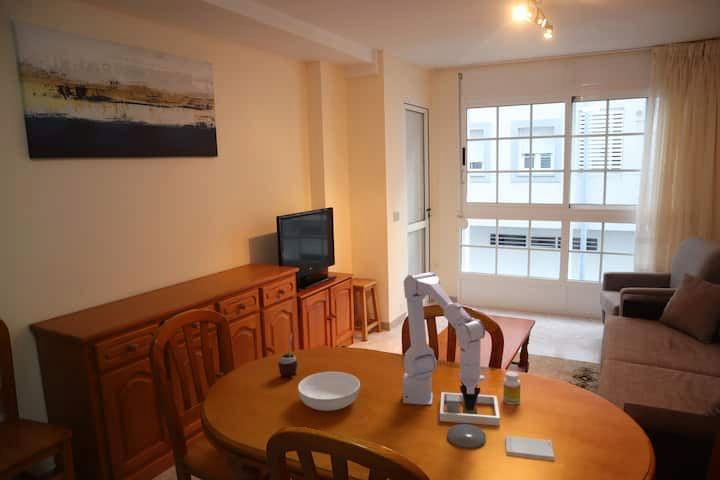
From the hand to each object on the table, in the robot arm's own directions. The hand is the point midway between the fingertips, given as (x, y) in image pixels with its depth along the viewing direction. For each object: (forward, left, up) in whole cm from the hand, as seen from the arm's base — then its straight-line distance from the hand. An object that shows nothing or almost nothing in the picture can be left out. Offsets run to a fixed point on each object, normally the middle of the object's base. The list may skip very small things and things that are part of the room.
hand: (469, 405), depth 144 cm
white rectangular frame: (0, +13, -9) cm, 16 cm away
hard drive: (+16, -5, -10) cm, 20 cm away
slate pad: (-1, -2, -9) cm, 9 cm away
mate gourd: (-67, +30, -9) cm, 74 cm away
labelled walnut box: (0, 0, -2) cm, 2 cm away
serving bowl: (-46, +12, -9) cm, 48 cm away
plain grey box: (-5, +11, -9) cm, 15 cm away
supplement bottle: (+14, +22, -9) cm, 27 cm away
